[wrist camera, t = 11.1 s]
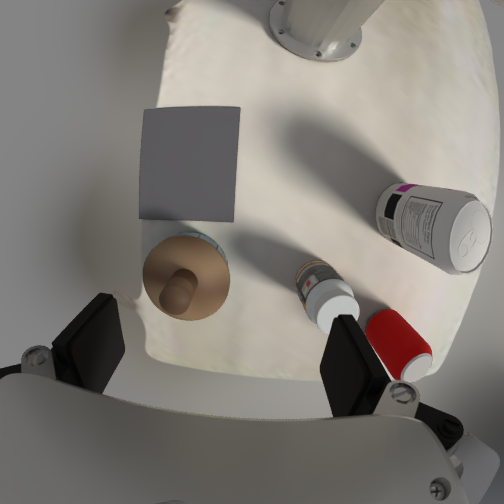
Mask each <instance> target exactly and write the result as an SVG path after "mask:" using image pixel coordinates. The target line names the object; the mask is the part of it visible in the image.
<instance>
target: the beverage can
mask: <svg viewBox="0 0 504 504" xmlns="http://www.w3.org/2000/svg"><path fill="white" fill-rule="evenodd" d="M366 337H367V339H368V341H369V342H370V344H371V345H372V347H373V348H374V350H375V351H376V353H377V354H378V356H379V357H380V359H381V360H382V362H383V363H384V365H385V366H386V368H387V369H388V371H389V372H390V374H391V375H392V377H393V378H394V379H395V380H403V381H407V382H409V383H413V382H415V381H417V380H419V379H420V378H422V377H423V376H424V375H425V374H426V373H427V372H428V370H429V368H430V367H431V364H432V350H431V348H430V346H429V344H428V343H427V342H426V341H425V340H424V339H423V338H422V337H421V336H420V335H419V334H418V333H417V332H416V331H415V330H414V329H413V328H412V326H411V325H410V324H409V323H408V322H407V321H406V320H405V319H404V318H403V317H402V316H401V315H400V314H399V313H398V312H396V311H395V310H391V309H385V310H381V311H379V312H377V313H376V314H374V315H373V316H372V317H371V319H370V320H369V321H368V323H367V326H366Z"/></svg>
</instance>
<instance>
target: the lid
mask: <svg viewBox="0 0 504 504" xmlns="http://www.w3.org/2000/svg"><path fill="white" fill-rule="evenodd" d="M143 282H144V287H145V290H146V292H147V294H148V296H149V298H150V299H151V301H152V302H153V303H154V304H155V306H156V307H157V308H159V309H160V310H161V311H162V312H164V313H165V314H167V315H169V316H171V317H174V318H176V319H180V320H187V321H193V320H200V319H203V318H206V317H208V316H210V315H212V314H214V313H215V312H216V311H217V310H218V309H219V308H220V307H221V306H222V305H223V303H224V302H225V300H226V298H227V295H228V291H229V286H230V274H229V269H228V266H227V263H226V261H225V259H224V257H223V256H222V254H221V253H220V252H219V251H218V250H217V249H216V248H215V247H214V246H213V245H212V244H210V243H209V242H207V241H205V240H203V239H201V238H198V237H195V236H189V235H179V236H173V237H170V238H168V239H166V240H164V241H162V242H161V243H159V244H158V245H157V246H156V247H155V248H154V249H153V250H152V251H151V252H150V253H149V255H148V257H147V258H146V261H145V264H144V268H143Z"/></svg>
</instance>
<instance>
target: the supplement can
mask: <svg viewBox="0 0 504 504" xmlns="http://www.w3.org/2000/svg"><path fill="white" fill-rule="evenodd" d="M376 222H377V226H378V229H379V231H380V232H381V234H382V235H383V236H384V238H386V239H387V240H389V241H390V242H392V243H394V244H396V245H398V246H400V247H402V248H403V249H405V250H407V251H409V252H411V253H413V254H415V255H416V256H418V257H420V258H422V259H424V260H426V261H427V262H429V263H431V264H433V265H434V266H436V267H438V268H440V269H441V270H443V271H445V272H447V273H448V274H450V275H461V274H470V273H472V272H474V271H476V270H477V269H478V268H479V267H480V266H481V265H482V264H483V262H484V261H485V259H486V257H487V255H488V253H489V250H490V247H491V243H492V236H493V223H492V218H491V215H490V212H489V210H488V208H487V207H486V206H485V205H484V204H483V203H482V202H480V201H479V200H478V199H477V197H476V196H475V195H474V194H471V193H468V192H465V191H459V190H452V189H446V188H439V187H431V186H423V185H415V184H406V183H398V184H393V185H391V186H390V187H388V188H387V189H386V190H384V192H383V193H382V195H381V196H380V198H379V200H378V204H377V207H376Z"/></svg>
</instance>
